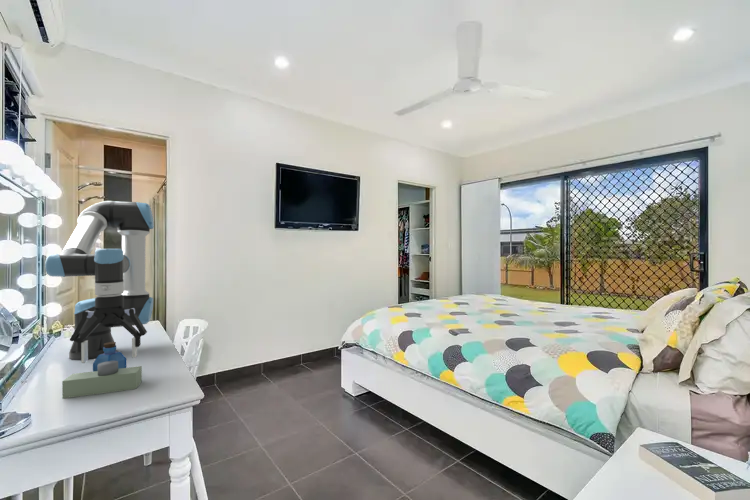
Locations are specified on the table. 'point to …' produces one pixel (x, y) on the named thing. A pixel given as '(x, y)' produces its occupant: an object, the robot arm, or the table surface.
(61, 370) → the table surface
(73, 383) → the green slab with knob
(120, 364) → the perfume bottle
